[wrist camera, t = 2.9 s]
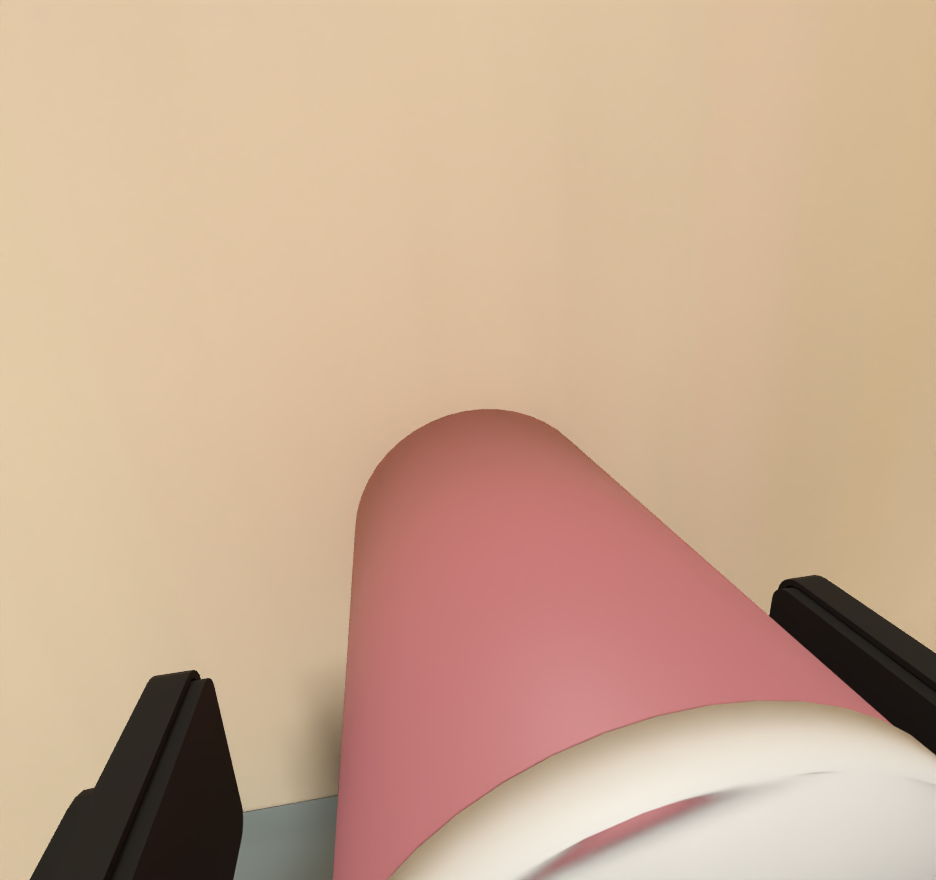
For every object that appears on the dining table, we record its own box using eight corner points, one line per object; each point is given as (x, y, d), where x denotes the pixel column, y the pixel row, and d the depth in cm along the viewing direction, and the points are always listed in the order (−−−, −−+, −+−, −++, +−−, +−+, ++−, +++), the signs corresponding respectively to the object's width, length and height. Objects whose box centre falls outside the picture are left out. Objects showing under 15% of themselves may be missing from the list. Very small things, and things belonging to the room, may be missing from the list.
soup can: (608, 399, 14) (1150, 704, 4) (595, 621, 16) (937, 1167, 6) (342, 416, 13) (249, 863, 3) (363, 650, 15) (349, 1356, 5)
